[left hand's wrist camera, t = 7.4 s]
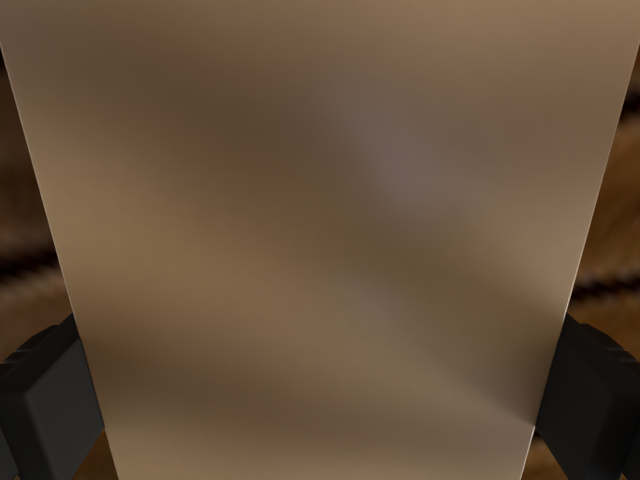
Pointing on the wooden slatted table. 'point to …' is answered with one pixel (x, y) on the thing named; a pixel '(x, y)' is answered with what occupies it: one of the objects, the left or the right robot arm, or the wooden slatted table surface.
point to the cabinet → (319, 220)
